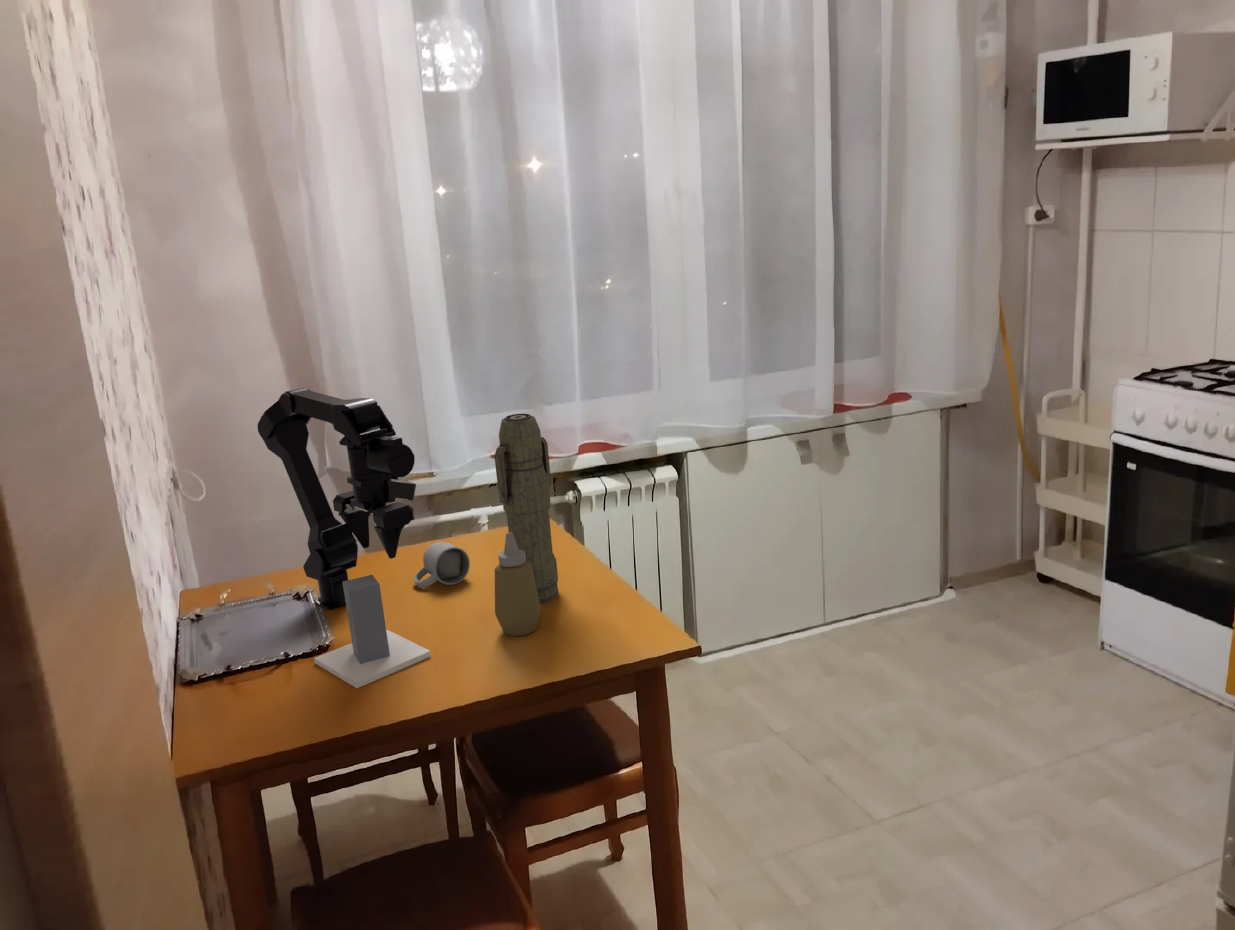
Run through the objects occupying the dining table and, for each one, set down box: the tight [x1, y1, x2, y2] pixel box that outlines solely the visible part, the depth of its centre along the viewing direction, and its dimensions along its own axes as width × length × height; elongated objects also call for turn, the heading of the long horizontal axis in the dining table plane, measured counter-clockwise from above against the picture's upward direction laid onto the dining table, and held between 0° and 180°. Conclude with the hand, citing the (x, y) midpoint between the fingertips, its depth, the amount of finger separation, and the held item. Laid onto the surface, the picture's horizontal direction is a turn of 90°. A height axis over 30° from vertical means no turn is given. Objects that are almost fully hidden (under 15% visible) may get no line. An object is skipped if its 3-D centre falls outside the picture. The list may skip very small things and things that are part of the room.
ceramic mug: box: [413, 541, 471, 589], centre depth 198 cm, size 11×8×8 cm
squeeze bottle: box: [494, 532, 542, 637], centre depth 171 cm, size 8×8×18 cm
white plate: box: [313, 628, 432, 689], centre depth 166 cm, size 14×14×1 cm
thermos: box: [494, 413, 559, 604], centre depth 183 cm, size 9×12×35 cm
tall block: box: [343, 574, 390, 664], centre depth 164 cm, size 5×5×13 cm
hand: (379, 552), depth 179 cm, fingers open, 9 cm apart
